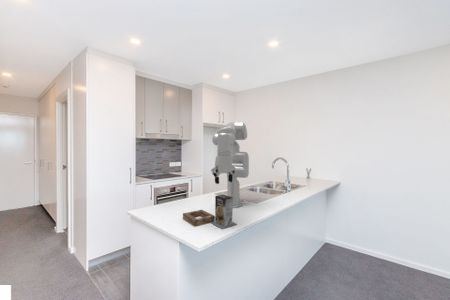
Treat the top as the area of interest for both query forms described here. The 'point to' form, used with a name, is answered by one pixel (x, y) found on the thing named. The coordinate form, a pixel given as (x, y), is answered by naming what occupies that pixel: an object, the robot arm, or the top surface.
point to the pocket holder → (200, 221)
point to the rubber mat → (222, 225)
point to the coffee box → (223, 210)
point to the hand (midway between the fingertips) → (223, 182)
